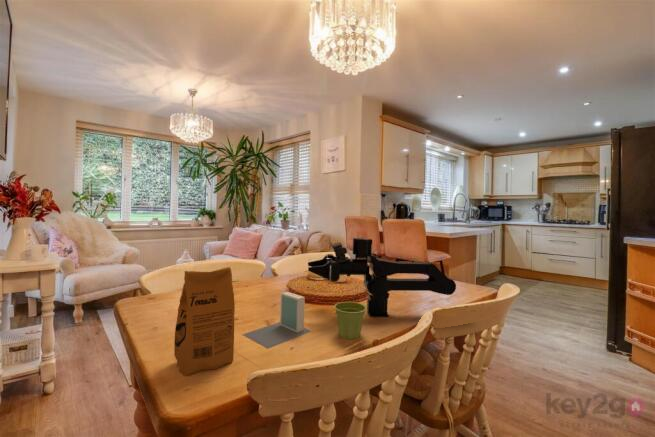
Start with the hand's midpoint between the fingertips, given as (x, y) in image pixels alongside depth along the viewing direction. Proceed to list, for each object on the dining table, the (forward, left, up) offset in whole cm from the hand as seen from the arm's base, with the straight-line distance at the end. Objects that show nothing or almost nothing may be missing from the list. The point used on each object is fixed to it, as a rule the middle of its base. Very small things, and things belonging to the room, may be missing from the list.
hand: (308, 266), depth 105 cm
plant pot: (-12, +19, -17) cm, 28 cm away
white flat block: (+5, +14, -16) cm, 22 cm away
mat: (+9, +18, -17) cm, 26 cm away
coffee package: (+24, +34, -17) cm, 45 cm away
